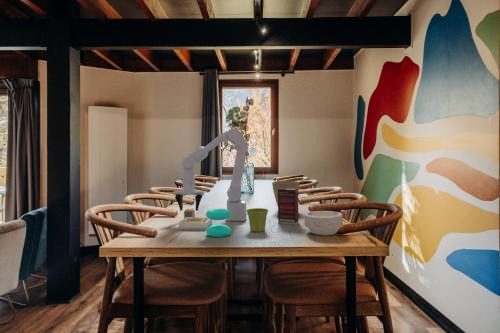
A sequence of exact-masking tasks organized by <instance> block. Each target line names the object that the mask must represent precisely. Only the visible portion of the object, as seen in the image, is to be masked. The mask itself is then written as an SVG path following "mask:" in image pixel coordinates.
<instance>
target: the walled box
mask: <svg viewBox="0 0 500 333" xmlns="http://www.w3.org/2000/svg"><path fill="white" fill-rule="evenodd" d="M212 225H213V220H211V219H209V218H207V216H205V217H204V216H199V217H198V216H197V217H196V216H195V217H186V218H185V219H184V218H183V219H182V220H181V221H178V230H181V231H182V230H183V231H185V230H186V231H187V230H188V231H189V230H190V231H191V230H192V231H196V230H198V231H206V230H207V228H208V227H210V226H212Z"/></svg>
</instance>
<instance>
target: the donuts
mask: <svg viewBox="0 0 500 333" xmlns="http://www.w3.org/2000/svg"><path fill="white" fill-rule="evenodd" d="M205 215H206V216H205V217H207V218H209V219H211V220H212V221H224V220H225V219H227V218H229V217H230V216H231V212H230V210H228V209H227V208H211V209H208V210H207V211H206V213H205ZM205 231H206V235H207V236H209V237H211V238H223V237H227V236H229V235H231V233H232V229H231V227H230V226H228V225H227V224H211V225H210V227H208V228H207V230H205Z"/></svg>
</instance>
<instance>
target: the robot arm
mask: <svg viewBox="0 0 500 333" xmlns="http://www.w3.org/2000/svg"><path fill="white" fill-rule="evenodd" d="M227 142H230V143H231V144H233V146H234V147H235V148H236V153H235V157H234V164H233V171H232V174H231V175H232V176H231V180H230V181H231V182H230V184H229V188H228V189H227V192H226V196H227V197H228V199H227V200H226V209H228V210H230V212H231V216H230V217H229V218H227V219H225V222H245V221H246V220H247V216H248V214H247V212H246V210H247V202H246V201H242V200H243V199H242V191H241V190H242V180H243V179H242V178H243V173H244V167H245V163H246V162H245V161H246V156H247V149H248V145H247V142H246V139H245V138H244V135H243V133H242V132H241V131H240V130H239V129H238V128H236V127H233V128H230V129H228V130H227V131H224V132H223V133H220V134H219V135H218V136H216V137H215V138H214V139H213V140H212V141H210V142H209V143H208V144H206V145H205V146H201V145H200V146H199V147H198V146H196V148H195V150H194V151H192V152H191V153H188V154H187V156H184V158H183V159H182V160H181V165H182V177H181V178H182V190H174V191H173V196H175V197H174V198H175V200H176V202H177V204H178V207H179V211H183V210H184V209H183V207H184V206H183V201H184V199H183V198H184V196H194V198H195V199H194V200H195V211H196V212H197V211H199V207H200V203H201V201H202V198H203V196H205V190H196V181H195V180H196V179H195V176H196V175H195V167H194V166H195V165H196V164H197V165H198V164H199V163H200V162H201V161H203V160H204V159H206V158H207V157H208V156H209V152H210V151H212V150H213V149H215V148H216V147H217V146H219V145H221V143H227Z"/></svg>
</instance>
